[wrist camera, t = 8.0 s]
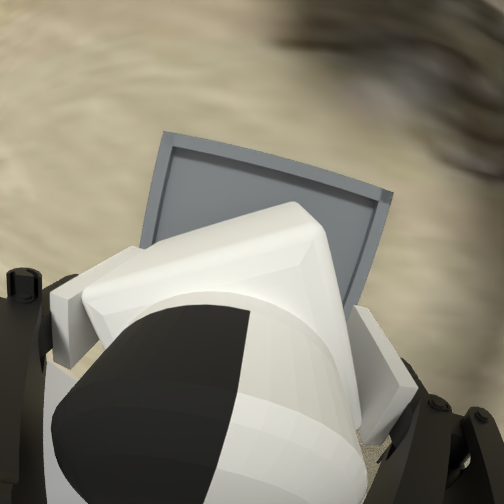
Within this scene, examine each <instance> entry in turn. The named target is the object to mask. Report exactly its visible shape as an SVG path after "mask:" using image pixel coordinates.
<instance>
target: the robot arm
mask: <svg viewBox="0 0 504 504" xmlns="http://www.w3.org/2000/svg"><path fill="white" fill-rule="evenodd" d="M144 250H145V249H141V248H138V247H134V246H130V247H129V248H127V249H125V250H123V251H121V252H119V253H118V254H116V255H114V256H112V257H110V258H108V259H107V260H105V261H103V262H101V263H99V264H98V265H96V266H94V267H92V268H91V269H89V270H87V271H85V272H84V273H82V274H80V275H79V274H73V275H69V276H66V277H64V278H62V279H60V280H59V281H57V282H55V283H53V285H52V284H51V285H49V286H48V287H46V288H44V289H42V274H41V273H40V272H39V271H37V270H35V269H31V268H15V269H12V270H10V271H8V272H7V273H6V276H7V295H8V297H7V299H6V298H2V297H0V504H47V497H46V489H45V476H44V459H43V408H44V407H43V406H44V389H45V376H46V365H47V361H46V353H47V352H49V351H50V350H51V349H52V350H53V361H54V362H56V363H58V364H60V365H62V366H64V367H66V368H68V369H70V370H71V369H72V368H73V367H74V366H75V364H76V363H77V362H78V361H79V360H80V359H81V358H82V357H83V356H84V355H85V354H86V353H87V352H88V351H89V350H90V349H91V348H92V347H93V346H94V345H95V344H96V343H97V342H98V341H99V338H98V336H97V334H96V332H95V329H94V327H93V325H92V323H91V321H90V318H89V316H88V314H87V312H86V309H85V307H84V305H83V302H82V298H81V295H82V292H83V290H84V289H85V288H86V287H87V286H89V285H90V284H92V283H93V282H95V281H96V280H98V279H100V278H101V277H103V276H104V275H106V274H107V273H109V272H110V271H112V270H113V269H115V268H117V267H118V266H120V265H121V264H123V263H125V262H126V261H128V260H129V259H131V258H132V257H134V256H136V255H137V254H139V253H141V252H142V251H144ZM346 326H347V331H348V336H349V342H350V347H351V353H352V358H353V364H354V370H355V376H356V382H357V388H358V395H359V402H360V409H361V416H362V423H361V426H360V427H359V428H358V430H359V433H360V437H361V440H362V444H363V445H382V443H383V442H384V440H385V439H386V438H387V436H388V435H390V437H391V440H392V443H391V444H390V445H389V447H388V448H387V449H386V451H385V452H384V453H383V454H382V456H381V457H380V458H379V460H378V461H377V462H376V463H378V464H379V463H380V462H381V461H382V462H381V464H380V467H379V469H378V471H377V474H376V476H375V478H374V481H373V483H372V485H371V487H370V490H369V492H368V494H367V496H366V498H365V500H364V503H363V504H504V442H503V439H502V437H501V434H500V432H499V430H498V427H497V425H496V423H495V420H494V418H493V417H492V415H491V414H490V413H489V412H488V411H487V410H485V409H484V408H480V407H474V406H473V407H470V409H469V410H468V412H467V413H466V414H465V416H461V415H457V414H453V413H452V409H451V406H450V405H449V404H448V402H446V401H445V400H444V399H443V398H441V397H439V396H436V395H433V394H428V392H427V390H426V389H425V387H424V386H423V384H422V383H421V381H420V379H418V376H417V375H416V374H415V372H414V370H413V369H412V367H411V365H410V364H408V363H407V362H406V361H405V360H404V359H403V358H400V357H399V356H398V354H397V352H396V351H395V349H394V348H393V346H392V345H391V343H390V342H389V340H388V338H387V337H386V335H385V334H384V332H383V331H382V329H381V328H380V326H379V325H378V323H377V322H376V320H375V319H374V317H373V316H372V314H371V313H370V311H369V310H368V308H365V307H361V306H357V305H353V308H352V310H351V313H350V315H349V318H348V320H347V323H346ZM470 456H471V460H470V464H469V465H468V466H467V467H466V468H465V467H464V463H465V462H466V460H467V459H468V458H469V457H470Z"/></svg>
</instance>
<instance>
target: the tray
mask: <svg viewBox="0 0 504 504" xmlns="http://www.w3.org/2000/svg"><path fill="white" fill-rule="evenodd" d="M392 197H393V192H391V191H388V190H385V189H382V188H379V187H377V186H374V185H371V184H368V183H365V182H362V181H359V180H356V179H353V178H350V177H347V176H344V175H341V174H337V173H334V172H331V171H328V170H325V169H321V168H318V167H315V166H311V165H308V164H304V163H301V162H297V161H294V160H290V159H286V158H283V157H279V156H275V155H271V154H268V153H264V152H260V151H256V150H252V149H248V148H243V147H239V146H235V145H231V144H226V143H222V142H217V141H213V140H208V139H203V138H198V137H193V136H188V135H183V134H178V133H172V132H166V131H164V132H163V135H162V139H161V143H160V147H159V152H158V156H157V160H156V164H155V169H154V173H153V178H152V182H151V187H150V192H149V197H148V202H147V207H146V212H145V217H144V223H143V229H142V235H141V241H140V247H139V248H141V249H147V248H149V247H150V246H152V245H154V244H155V243H157V242H158V241H161V240H165V239H168V238H171V237H174V236H177V235H180V234H183V233H187V232H190V231H193V230H196V229H200V228H203V227H206V226H209V225H213V224H216V223H219V222H222V221H226V220H229V219H232V218H236V217H239V216H243V215H246V214H249V213H253V212H256V211H260V210H263V209H267V208H270V207H273V206H277V205H281V204H284V203H288V202H297V203H299V204H300V205H301V206H302V207H303V208H304V209H305V210H306V211H307V212H308V213H309V214H310V215H311V216H312V217H313V218H314V219H315V220H316V221H317V222H318V223H319V224H320V225H321V226H322V227H323V229H324V231H325V232H326V236H327V240H328V244H329V248H330V252H331V257H332V261H333V265H334V269H335V274H336V278H337V283H338V287H339V292H340V296H341V301H342V306H343V311H344V316H345V321H346V323H347V320H348V318H349V315H350V313H351V310H352V308H353V305H357V304H358V301H359V298H360V296H361V293H362V290H363V288H364V285H365V282H366V279H367V277H368V274H369V271H370V268H371V265H372V262H373V259H374V256H375V253H376V250H377V247H378V244H379V241H380V238H381V235H382V231H383V228H384V225H385V222H386V218H387V215H388V211H389V208H390V204H391V201H392Z"/></svg>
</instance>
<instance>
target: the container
mask: <svg viewBox="0 0 504 504" xmlns="http://www.w3.org/2000/svg"><path fill="white" fill-rule="evenodd" d="M81 298H82V302H83V305H84V307H85V309H86V312H87V314H88V316H89V318H90V321H91V323H92V325H93V327H94V329H95V332H96V334H97V336H98V338H99V340H100V342H101V344H102V346H103V348H104V350H105V351H104V352H103V353H102V355H101V356H100V357H99V358H98V359H97V360H96V361H95V362H94V364H93V365H92V366H91V367H90V368H89V369H88V370H87V372H86V373H85V374H84V375H83V376H82V377H81V379H80V380H79V381H78V382H77V383H76V384H75V386H74V387H73V388H72V389H71V390H70V392H69V393H68V394H67V395H66V396H65V397H64V398H63V400H62V401H61V402H60V403H59V405H58V406H57V407H56V409H55V412H54V414H53V416H52V424H51V433H52V441H53V446H54V452H55V456H56V459H57V462H58V464H59V467H60V469H61V471H62V472H63V474H64V476H65V478H66V479H67V480H68V482H69V483H70V485H71V486H72V487H73V488H74V489H75V491H76V492H77V493H78V494H79V495H80V496H81V497H82V498H83V499H84V500H85V501H86V502H87V503H88V504H360V503H361V500H362V499H363V497H364V496H365V492H366V488H367V470H366V466H365V463H364V459H363V455H362V452H361V448H360V444H359V441H358V437H357V433H356V430H357V429H358V428H359V427H360V426H361V423H362V416H361V409H360V402H359V395H358V388H357V382H356V376H355V370H354V364H353V358H352V353H351V347H350V342H349V336H348V331H347V326H346V321H345V316H344V311H343V306H342V301H341V296H340V292H339V287H338V283H337V278H336V274H335V269H334V265H333V261H332V257H331V252H330V248H329V244H328V240H327V236H326V232H325V231H324V229H323V227H322V226H321V225H320V224H319V223H318V222H317V221H316V220H315V219H314V218H313V217H312V216H311V215H310V214H309V213H308V212H307V211H306V210H305V209H304V208H303V207H302V206H301V205H300V204H299V203H297V202H288V203H284V204H281V205H277V206H273V207H270V208H267V209H263V210H260V211H256V212H253V213H249V214H246V215H243V216H239V217H236V218H232V219H229V220H226V221H222V222H219V223H216V224H213V225H209V226H206V227H203V228H200V229H196V230H193V231H190V232H187V233H183V234H180V235H177V236H174V237H171V238H168V239H165V240H161V241H158V242H157V243H155V244H154V245H152V246H150V247H149V248H147V249H145V250H144V251H142V252H141V253H139V254H137V255H136V256H134V257H132V258H131V259H129V260H128V261H126V262H125V263H123V264H121V265H120V266H118V267H117V268H115V269H113V270H112V271H110V272H109V273H107V274H106V275H104V276H103V277H101V278H100V279H98V280H96V281H95V282H93V283H92V284H90V285H89V286H87V287H86V288H85V289H84V290H83V292H82V295H81Z"/></svg>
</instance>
